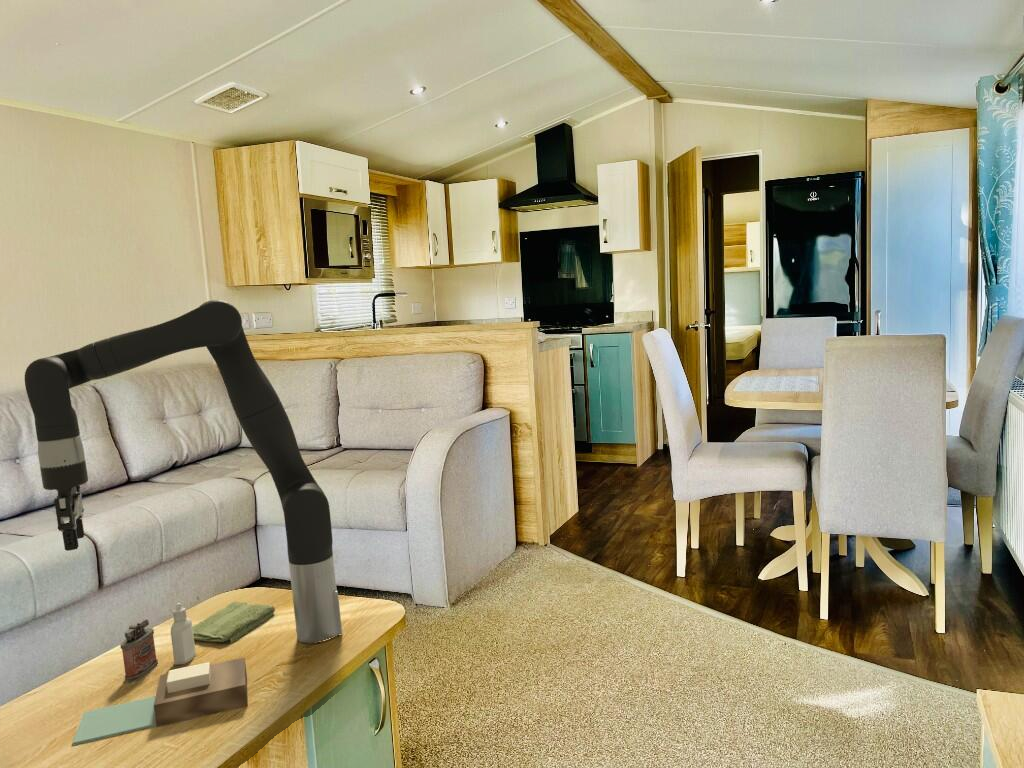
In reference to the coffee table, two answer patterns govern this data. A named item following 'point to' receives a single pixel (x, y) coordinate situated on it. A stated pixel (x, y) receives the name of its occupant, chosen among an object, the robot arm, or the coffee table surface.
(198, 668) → the tile
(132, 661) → the lighter
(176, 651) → the eye dropper bottle
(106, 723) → the mat
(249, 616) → the washcloth
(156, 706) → the wooden block
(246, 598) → the coffee table surface
